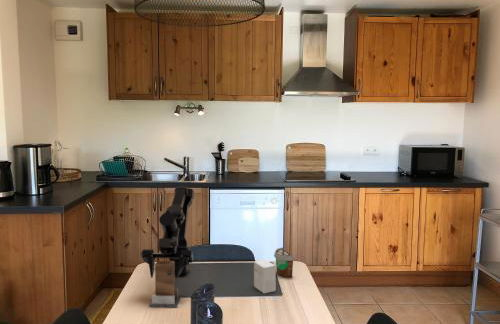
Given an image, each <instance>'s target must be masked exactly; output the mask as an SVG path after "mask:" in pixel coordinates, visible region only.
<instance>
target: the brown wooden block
mask: <svg viewBox="0 0 500 324" xmlns="http://www.w3.org/2000/svg"><path fill="white" fill-rule="evenodd" d="M154 273H155V274H154V277H155V278H154V280H155V281H154V283H155V284H154V285H155V295H175V288H176V275H175V262H174V261H156V262H155V266H154Z"/></svg>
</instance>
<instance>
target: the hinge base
mask: <svg viewBox="0 0 500 324" xmlns="http://www.w3.org/2000/svg"><path fill="white" fill-rule="evenodd" d="M181 298H182V295H179V288H177V287H175V295H156V294H152V295H151V301H150V302H149V304H148V308H168V309H169V308H170V309H172V308H174V309H175V308H176V309H177V308H178V306H179V303H180V301H181Z"/></svg>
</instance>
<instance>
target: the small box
mask: <svg viewBox="0 0 500 324" xmlns="http://www.w3.org/2000/svg"><path fill="white" fill-rule="evenodd" d="M276 275H277V271H276V264H274V263H272V262H270V261H268V260H267V259H262V260H257V261H254V262H253V286H254V288H255V289H257V290H259V291H260V292H261V293H262V294H268V293H273V292H275V291H276V290H277V289H276V288H277V287H276V286H277V285H276V283H277V282H276V281H277V280H276V279H277V277H276Z"/></svg>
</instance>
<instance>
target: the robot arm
mask: <svg viewBox="0 0 500 324" xmlns="http://www.w3.org/2000/svg"><path fill="white" fill-rule="evenodd" d="M173 195H174V197H173V200H172V202H171V205H170V206H169V207H167V208H166V209H165V212H164V213H162V214H161V215H160V217H158V218H159V220H158V221H159V224H160V227H161V229H162V231H163V236H162V238H158V243H157V248H158V250H159V252H155V251H154V249H153V248H144V249H142V251H141V254H140V256H141V259H142V260H143V262H144V263H146V265H148V269H149V274H150V278H152V279H153V276H154V273H155V264H156V262H155V260H156V259H169V262H175V279H178V278H179V277H186V275H187V274H189V273H190V272H191V270H190V269H188V265H190V264H192V263H193V262H194V253H193V251H192V250H191V249H190V247H189V243H188V241H187V240H186V239H187V229H188V227H187V226H188V215H189V208H190V207H191V206H192V204H193V202H194V199H195V190H194V189H192V188H189V187H187V186H177V187H176V186H175V188H174V194H173Z"/></svg>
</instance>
